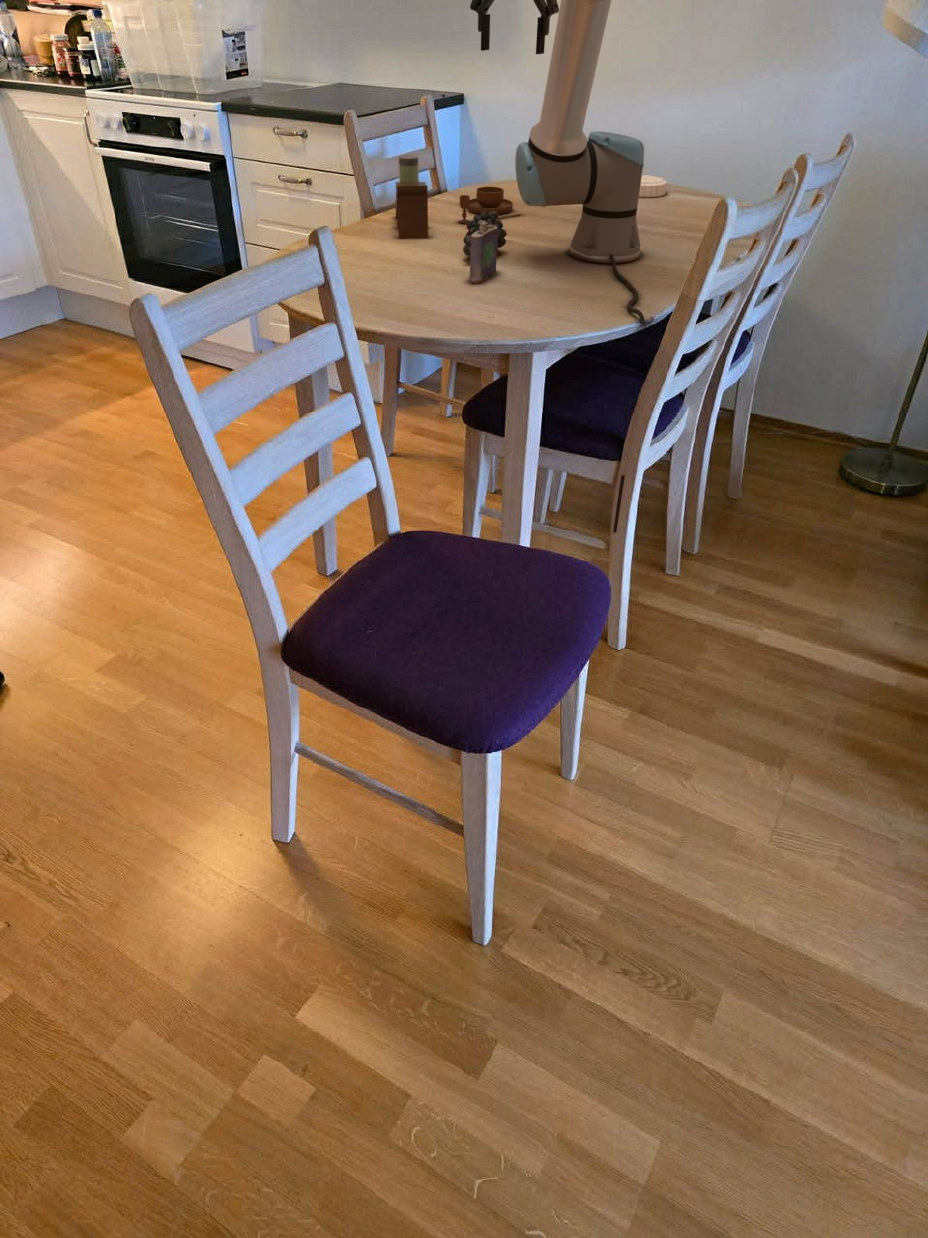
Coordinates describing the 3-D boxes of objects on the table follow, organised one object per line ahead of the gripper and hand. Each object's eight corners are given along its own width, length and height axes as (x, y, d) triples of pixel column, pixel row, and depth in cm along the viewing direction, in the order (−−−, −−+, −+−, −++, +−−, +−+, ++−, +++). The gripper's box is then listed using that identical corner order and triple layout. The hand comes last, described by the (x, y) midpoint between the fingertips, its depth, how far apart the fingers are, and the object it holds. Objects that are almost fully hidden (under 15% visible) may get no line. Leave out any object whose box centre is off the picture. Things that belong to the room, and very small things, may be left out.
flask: (478, 284, 167) (479, 226, 160) (465, 282, 168) (465, 224, 162) (499, 272, 173) (501, 216, 167) (486, 270, 175) (488, 214, 168)
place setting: (529, 214, 212) (530, 188, 208) (464, 225, 203) (464, 198, 199) (489, 200, 223) (489, 175, 219) (425, 209, 214) (425, 184, 211)
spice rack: (428, 237, 194) (427, 185, 187) (398, 238, 193) (397, 185, 186) (423, 217, 208) (422, 168, 201) (395, 217, 208) (394, 168, 201)
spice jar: (419, 204, 202) (418, 158, 196) (400, 205, 201) (398, 158, 195) (418, 200, 205) (417, 154, 199) (399, 200, 205) (398, 154, 199)
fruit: (475, 220, 171) (505, 203, 181) (441, 229, 175) (472, 211, 185) (487, 263, 175) (515, 244, 185) (453, 271, 179) (483, 252, 190)
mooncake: (655, 199, 226) (657, 184, 224) (614, 193, 231) (616, 179, 229) (672, 191, 234) (674, 177, 232) (632, 185, 239) (634, 171, 237)
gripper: (580, -73, 170) (570, 53, 183) (472, -73, 179) (470, 47, 192) (565, -74, 164) (556, 56, 178) (455, -74, 174) (454, 49, 187)
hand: (512, 51), depth 185 cm, fingers open, 13 cm apart
